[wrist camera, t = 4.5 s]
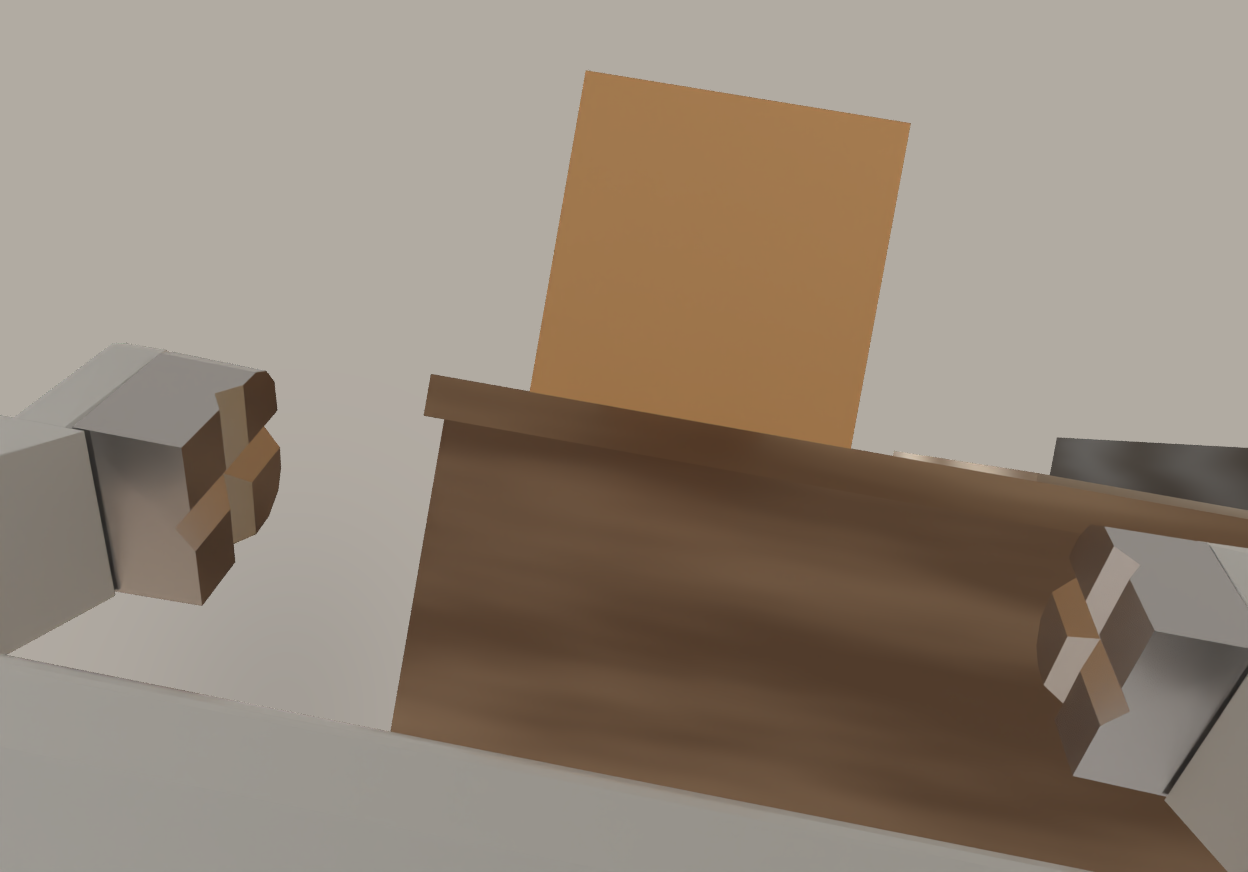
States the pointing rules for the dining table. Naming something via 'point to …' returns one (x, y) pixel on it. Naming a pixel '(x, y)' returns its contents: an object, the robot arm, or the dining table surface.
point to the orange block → (719, 258)
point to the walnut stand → (784, 617)
